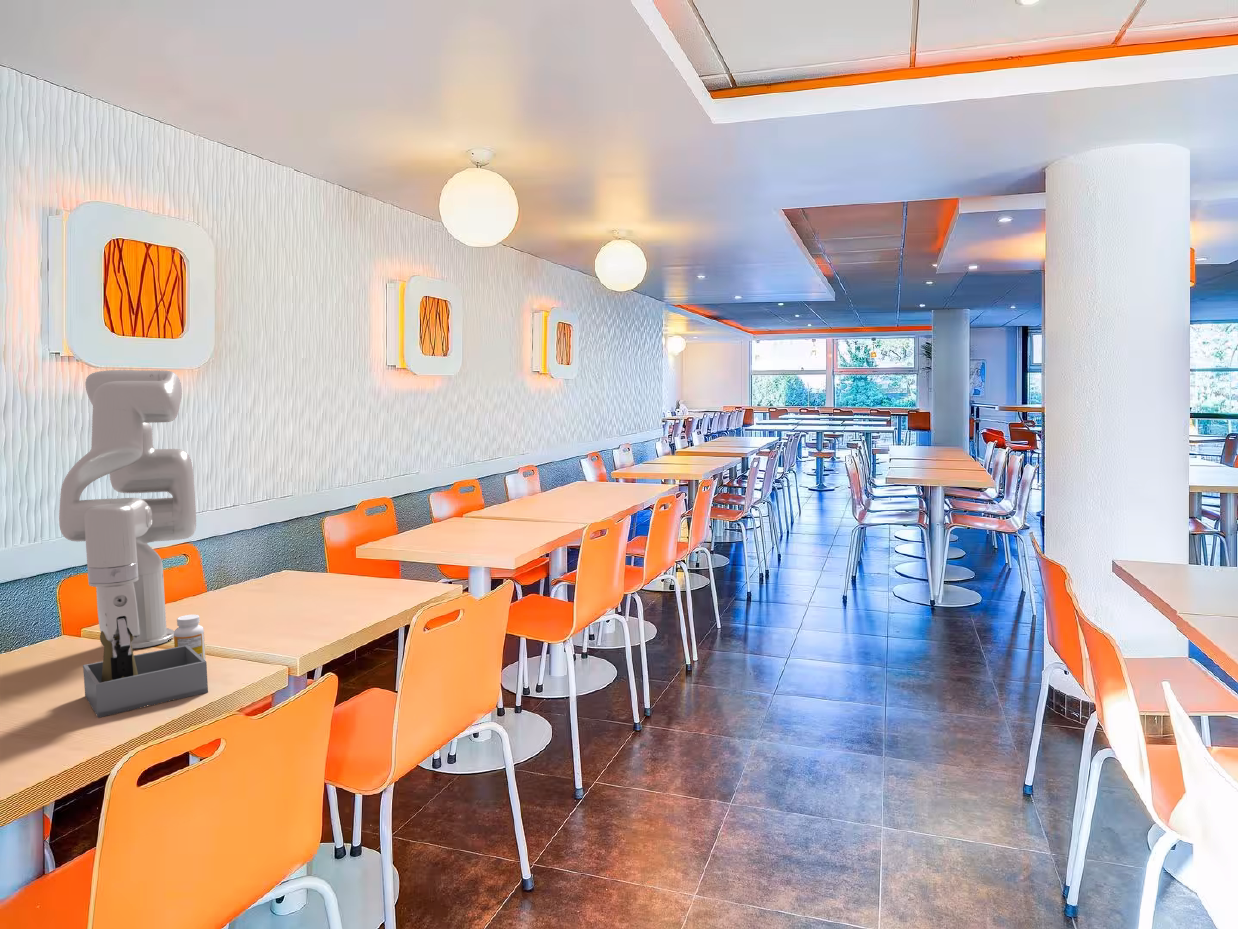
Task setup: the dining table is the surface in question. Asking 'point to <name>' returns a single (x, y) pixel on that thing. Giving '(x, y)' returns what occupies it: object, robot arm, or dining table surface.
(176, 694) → the tote
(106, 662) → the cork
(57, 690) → the dining table surface
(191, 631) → the supplement bottle
